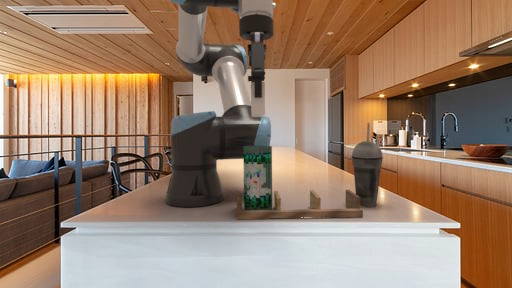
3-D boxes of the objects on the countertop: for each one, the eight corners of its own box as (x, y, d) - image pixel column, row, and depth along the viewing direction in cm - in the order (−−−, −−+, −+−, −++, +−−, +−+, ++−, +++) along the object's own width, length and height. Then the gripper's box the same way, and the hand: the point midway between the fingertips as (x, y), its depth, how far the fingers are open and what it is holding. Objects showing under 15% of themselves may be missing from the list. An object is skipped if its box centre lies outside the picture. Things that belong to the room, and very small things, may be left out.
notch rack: (236, 219, 64) (236, 200, 64) (238, 207, 73) (238, 191, 73) (362, 217, 64) (362, 198, 64) (348, 206, 73) (348, 189, 73)
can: (241, 215, 67) (240, 147, 66) (249, 207, 73) (248, 145, 72) (268, 216, 66) (267, 147, 65) (274, 209, 71) (273, 145, 70)
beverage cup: (377, 200, 78) (378, 122, 77) (386, 208, 71) (387, 122, 70) (348, 200, 79) (348, 123, 77) (354, 208, 71) (355, 122, 70)
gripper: (278, -6, 54) (279, 113, 55) (269, 35, 79) (270, 117, 80) (236, -6, 54) (238, 113, 55) (240, 35, 79) (242, 117, 80)
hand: (257, 116), depth 68 cm, fingers open, 13 cm apart
